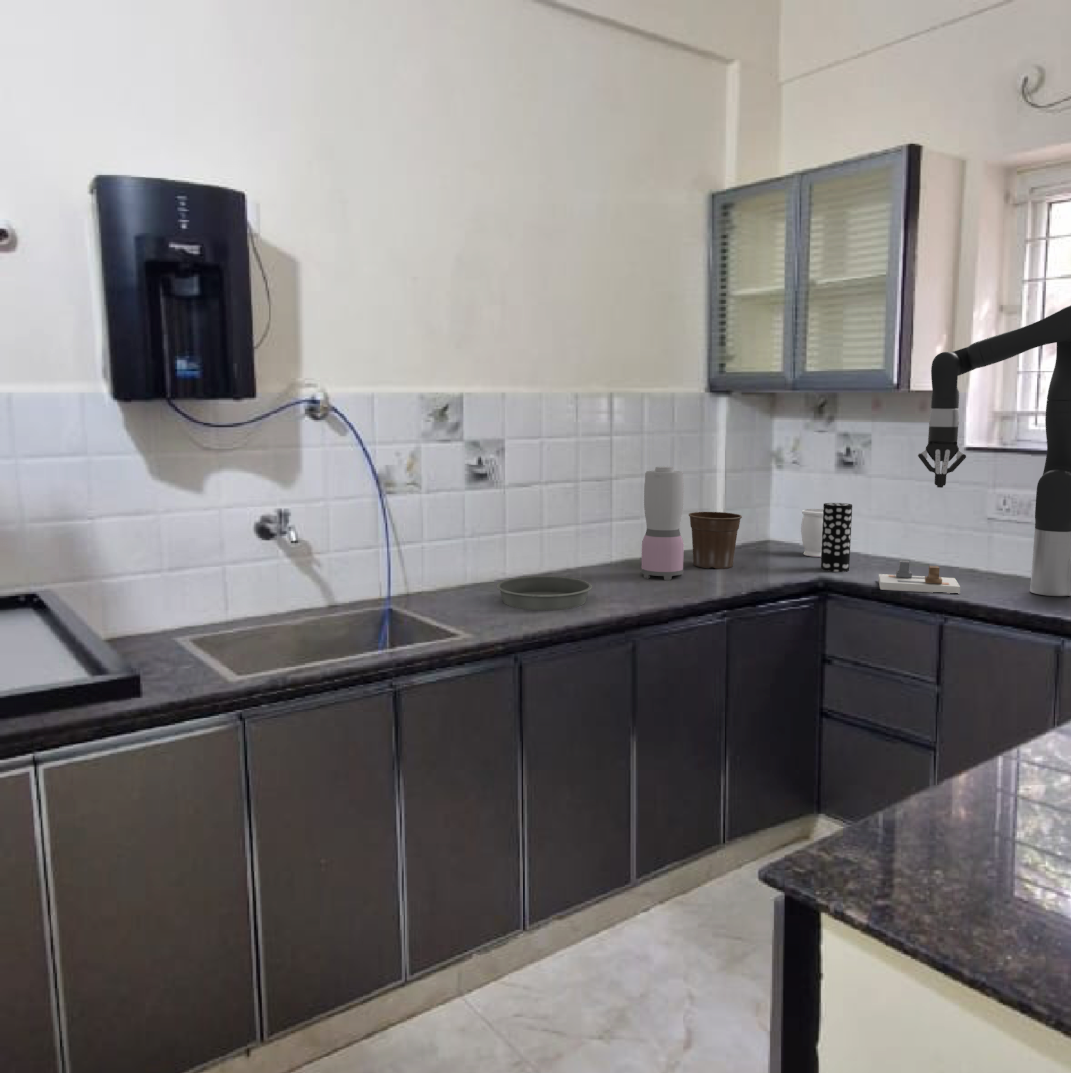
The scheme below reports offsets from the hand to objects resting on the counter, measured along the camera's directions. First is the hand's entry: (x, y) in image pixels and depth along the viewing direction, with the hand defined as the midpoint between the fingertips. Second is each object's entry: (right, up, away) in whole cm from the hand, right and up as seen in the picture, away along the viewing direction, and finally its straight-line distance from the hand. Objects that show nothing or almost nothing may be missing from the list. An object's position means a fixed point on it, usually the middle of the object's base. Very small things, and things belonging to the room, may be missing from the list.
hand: (939, 487), depth 267 cm
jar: (-20, -20, +50) cm, 57 cm away
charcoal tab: (-10, -25, 0) cm, 27 cm away
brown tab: (-5, -26, -9) cm, 28 cm away
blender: (-76, -26, +13) cm, 81 cm away
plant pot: (-58, -23, +29) cm, 69 cm away
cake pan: (-111, -31, -22) cm, 118 cm away
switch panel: (-8, -28, -4) cm, 29 cm away
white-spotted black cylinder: (-22, -24, +23) cm, 40 cm away
